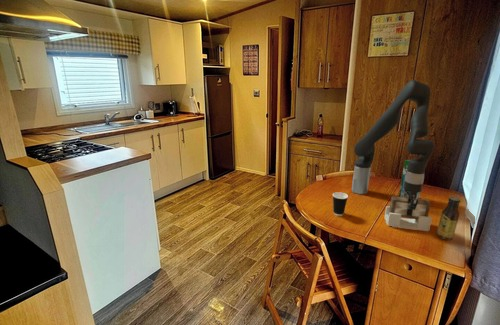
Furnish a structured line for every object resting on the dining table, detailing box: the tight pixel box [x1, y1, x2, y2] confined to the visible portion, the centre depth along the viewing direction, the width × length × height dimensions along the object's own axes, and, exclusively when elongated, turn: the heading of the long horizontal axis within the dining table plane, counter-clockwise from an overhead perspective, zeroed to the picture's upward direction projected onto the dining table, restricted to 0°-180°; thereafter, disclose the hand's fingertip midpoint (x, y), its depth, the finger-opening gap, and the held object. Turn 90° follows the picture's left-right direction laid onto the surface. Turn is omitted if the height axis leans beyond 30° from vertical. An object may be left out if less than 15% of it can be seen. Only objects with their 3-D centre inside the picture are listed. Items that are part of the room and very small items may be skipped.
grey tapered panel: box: [389, 196, 432, 219], centre depth 132 cm, size 16×4×9 cm, turn 74°
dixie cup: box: [332, 191, 349, 217], centre depth 144 cm, size 8×8×11 cm
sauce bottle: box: [436, 196, 461, 241], centre depth 121 cm, size 6×6×20 cm
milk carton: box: [398, 159, 421, 199], centre depth 158 cm, size 9×9×25 cm
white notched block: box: [384, 205, 433, 232], centre depth 134 cm, size 18×9×7 cm, turn 74°
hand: (407, 212), depth 133 cm, fingers closed on grey tapered panel, 4 cm apart
